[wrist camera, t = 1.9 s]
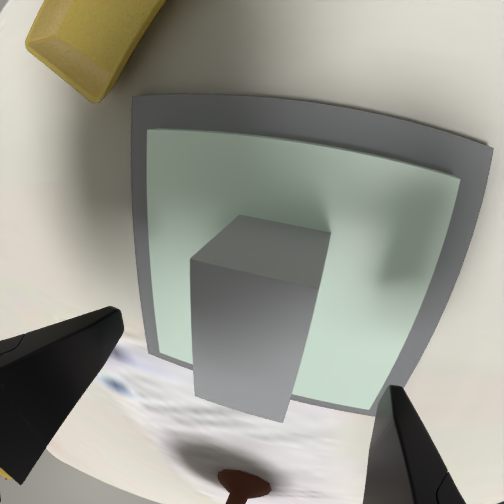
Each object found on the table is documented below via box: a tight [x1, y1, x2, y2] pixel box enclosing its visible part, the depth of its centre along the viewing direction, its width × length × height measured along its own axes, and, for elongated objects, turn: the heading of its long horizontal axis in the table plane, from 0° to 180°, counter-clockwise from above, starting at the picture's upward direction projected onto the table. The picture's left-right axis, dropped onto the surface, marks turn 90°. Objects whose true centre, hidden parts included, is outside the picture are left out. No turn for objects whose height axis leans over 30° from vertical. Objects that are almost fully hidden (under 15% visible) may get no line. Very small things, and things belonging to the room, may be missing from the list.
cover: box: [147, 128, 461, 423], centre depth 11 cm, size 12×12×5 cm
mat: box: [131, 94, 494, 417], centre depth 14 cm, size 15×15×1 cm
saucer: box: [25, 0, 167, 103], centre depth 10 cm, size 9×9×2 cm
